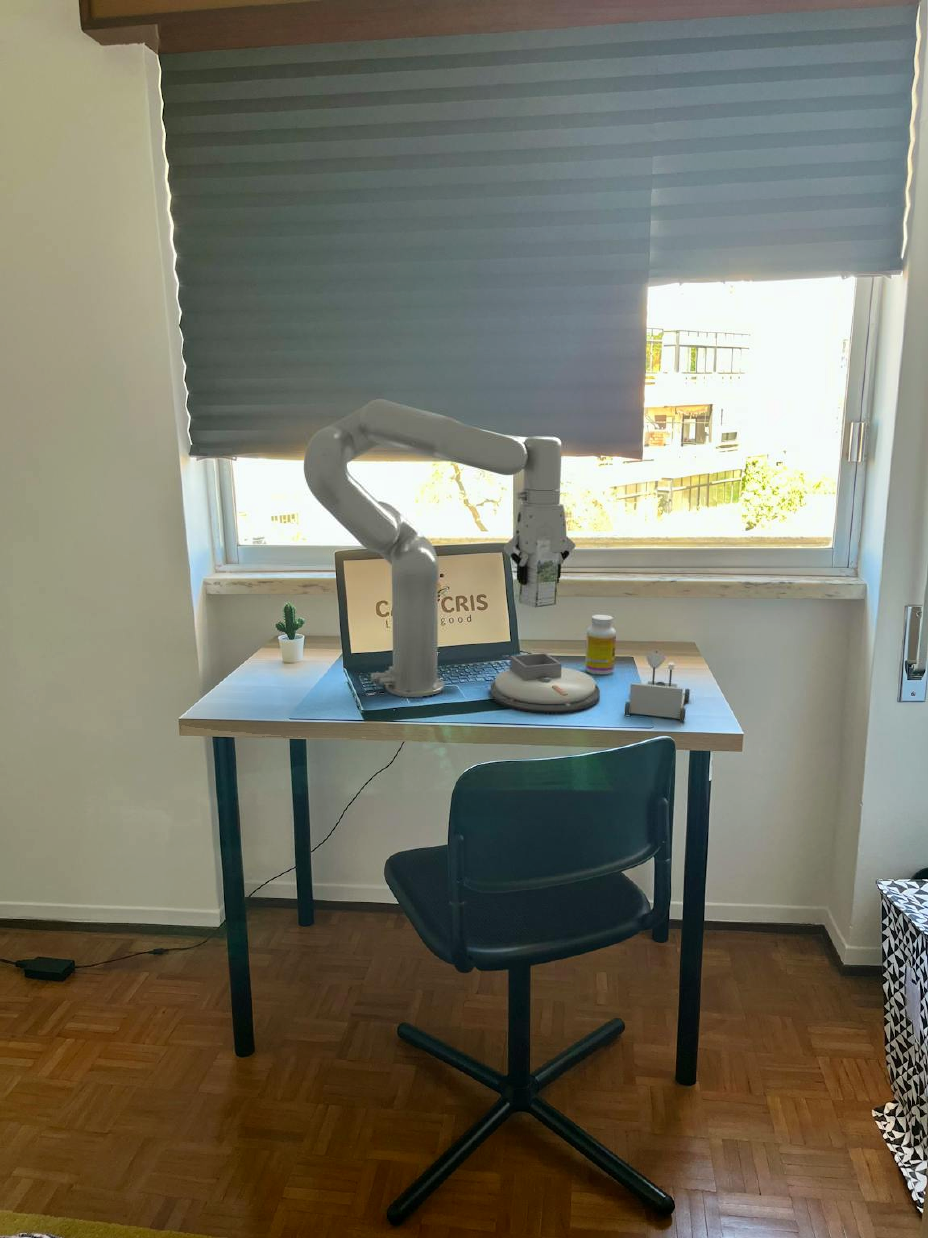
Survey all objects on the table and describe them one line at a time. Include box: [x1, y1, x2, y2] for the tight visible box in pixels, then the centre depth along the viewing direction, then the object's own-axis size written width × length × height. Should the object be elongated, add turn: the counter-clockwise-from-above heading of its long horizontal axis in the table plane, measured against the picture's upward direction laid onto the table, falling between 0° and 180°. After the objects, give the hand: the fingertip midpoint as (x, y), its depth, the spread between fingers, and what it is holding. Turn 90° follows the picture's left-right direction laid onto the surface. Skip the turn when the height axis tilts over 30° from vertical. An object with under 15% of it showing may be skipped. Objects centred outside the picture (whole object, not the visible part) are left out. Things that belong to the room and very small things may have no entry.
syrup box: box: [518, 539, 559, 608], centre depth 190 cm, size 6×6×14 cm
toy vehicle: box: [623, 651, 691, 723], centre depth 185 cm, size 18×10×12 cm
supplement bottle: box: [584, 614, 617, 676], centre depth 207 cm, size 7×7×13 cm
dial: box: [494, 652, 596, 704], centre depth 190 cm, size 21×21×4 cm
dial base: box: [489, 680, 601, 715], centre depth 191 cm, size 23×23×2 cm
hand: (538, 582), depth 190 cm, fingers closed on syrup box, 6 cm apart
